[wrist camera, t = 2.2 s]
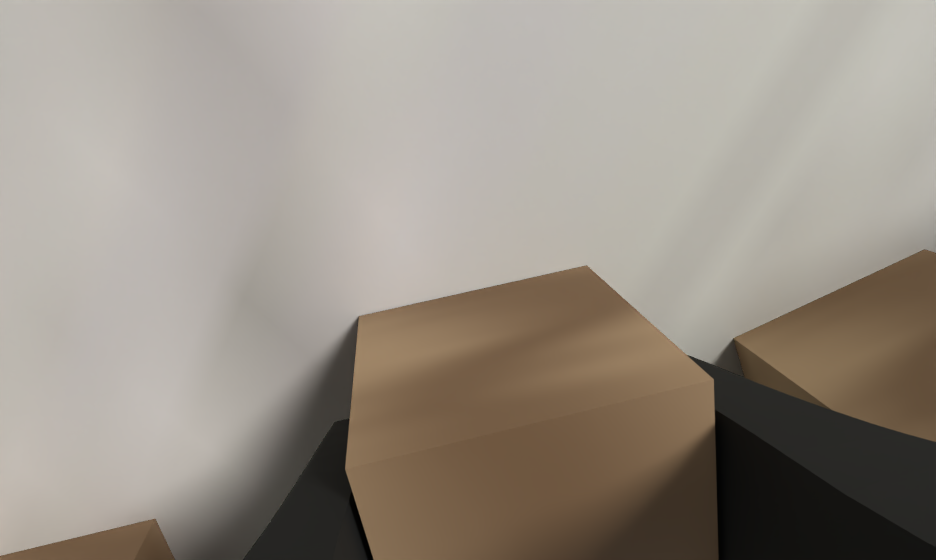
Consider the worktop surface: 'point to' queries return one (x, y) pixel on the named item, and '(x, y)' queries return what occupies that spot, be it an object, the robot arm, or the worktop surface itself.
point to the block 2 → (858, 349)
